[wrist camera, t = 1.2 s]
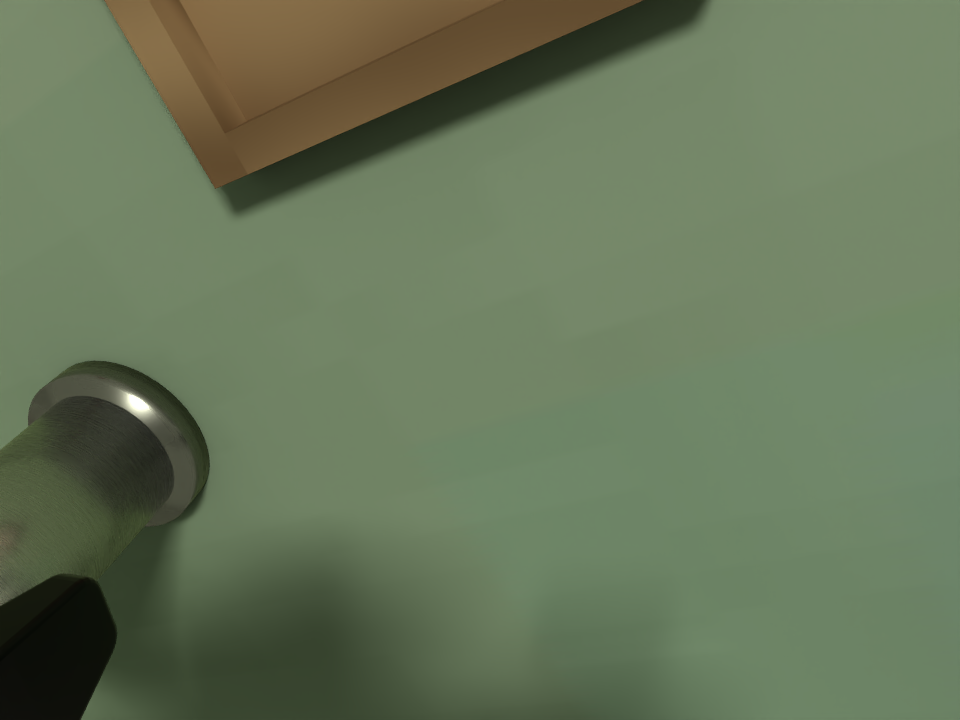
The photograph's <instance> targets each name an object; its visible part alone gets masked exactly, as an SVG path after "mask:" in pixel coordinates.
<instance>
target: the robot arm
mask: <svg viewBox="0 0 960 720" xmlns="http://www.w3.org/2000/svg"><path fill="white" fill-rule="evenodd" d="M116 639H117V628H116V624H115V622H114V619H113V617H112V614H111V612H110V609H109V607H108V604H107V602H106V599H105V597H104V594H103V592H102V589H101V587H100V585H99V583H98V582H97V581H96V580H95V579H93V578H91V577H87V576H81V575H75V574H69V573H62V574H57V575H54V576H52V577H50V578H48V579H46V580H45V581H43V582H41V583H39V584H38V585H36V586H34V587H32V588H31V589H29V590H27V591H25V592H24V593H22V594H20V595H18V596H16V597H15V598H13V599H11V600H9V601H8V602H6V603H4V604H2V605H1V606H0V720H81V718H82V716H83V714H84V712H85V709H86V707H87V705H88V703H89V701H90V699H91V697H92V695H93V693H94V691H95V688H96V686H97V684H98V682H99V680H100V678H101V676H102V674H103V672H104V670H105V667H106V665H107V663H108V661H109V659H110V657H111V655H112V653H113V650H114V648H115V644H116Z"/></svg>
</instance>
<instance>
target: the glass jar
mask: <svg viewBox="0 0 960 720" xmlns="http://www.w3.org/2000/svg"><path fill="white" fill-rule="evenodd" d="M208 474H209V455H208V449H207V446H206V443H205V440H204V437H203V435H202V433H201V431H200V429H199V427H198V425H197V424H196V422H195V420H194V419H193V417H192V416H191V414H190V413H189V412H188V410H187V409H186V408H185V407H184V406H183V405H182V404H181V402H180V401H179V400H178V399H177V398H176V397H175V396H174V395H172V394H171V393H170V392H169V391H168V390H167V389H165V388H164V387H163V386H162V385H160V384H159V383H157V382H156V381H154V380H153V379H151V378H150V377H148V376H146V375H144V374H142V373H140V372H139V371H136V370H134V369H132V368H129V367H127V366H123V365H120V364H116V363H112V362H106V361H87V362H82V363H78V364H75V365H73V366H71V367H69V368H67V369H66V370H65V371H63V372H62V373H61V374H59V375H58V376H57V377H56V378H54V379H53V380H52V381H51V382H49V383H48V384H47V385H46V386H44V387H43V388H42V389H40V391H39V392H38V393H37V394H36V395H35V397H34V398H33V400H32V402H31V405H30V408H29V414H28V427H27V428H26V429H25V430H24V431H22V432H21V433H20V434H19V435H18V436H16V437H15V438H14V439H13V440H12V441H10V442H9V443H8V444H7V445H5V446H4V447H3V448H2V449H1V450H0V606H1V605H2V604H4V603H6V602H8V601H9V600H11V599H13V598H15V597H16V596H18V595H20V594H22V593H24V592H25V591H27V590H29V589H31V588H32V587H34V586H36V585H38V584H39V583H41V582H43V581H45V580H46V579H48V578H50V577H52V576H54V575H57V574H62V573H69V574H75V575H81V576H87V577H91V578H93V579H95V580H96V581H97V580H98V579H99V578H100V577H101V576H102V575H103V573H104V572H105V571H106V570H107V569H108V568H109V567H110V565H111V564H112V563H113V562H114V561H115V560H116V559H117V557H118V556H119V555H120V554H121V553H122V552H123V551H124V549H125V548H126V547H127V546H128V545H129V544H130V542H131V541H132V540H133V539H134V538H135V537H136V536H137V534H138V533H139V532H140V531H141V530H142V529H143V528H144V526H158V525H162V524H165V523H168V522H170V521H172V520H174V519H176V518H177V517H178V516H180V515H181V514H182V512H183V511H184V510H185V509H186V508H187V506H188V505H189V504H190V503H191V502H192V501H193V499H194V498H195V497H196V496H197V495H198V493H199V492H200V491H201V490H202V489H203V487H204V485H205V483H206V481H207V477H208Z"/></svg>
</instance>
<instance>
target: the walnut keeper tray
mask: <svg viewBox="0 0 960 720" xmlns="http://www.w3.org/2000/svg"><path fill="white" fill-rule="evenodd" d="M104 1H105V2H106V4H107V6H108V7H109V9H110V11H111V12H112V14H113V16H114V18H115V19H116V21H117V23H118V24H119V26H120V28H121V29H122V31H123V33H124V35H125V36H126V38H127V40H128V41H129V43H130V45H131V46H132V48H133V50H134V51H135V53H136V55H137V57H138V58H139V60H140V62H141V63H142V65H143V67H144V68H145V70H146V72H147V74H148V75H149V77H150V79H151V80H152V82H153V84H154V85H155V87H156V89H157V91H158V92H159V94H160V96H161V97H162V99H163V101H164V102H165V104H166V106H167V107H168V109H169V111H170V113H171V114H172V116H173V118H174V119H175V121H176V123H177V124H178V126H179V128H180V130H181V131H182V133H183V135H184V136H185V138H186V140H187V141H188V143H189V145H190V147H191V148H192V150H193V152H194V153H195V155H196V157H197V158H198V160H199V162H200V164H201V165H202V167H203V169H204V170H205V172H206V174H207V175H208V177H209V179H210V180H211V182H212V184H213V186H214V187H215V189H216V188H218V187H221V186H223V185H225V184H227V183H230V182H232V181H234V180H237V179H239V178H241V177H243V176H246V175H248V174H250V173H252V172H255V171H257V170H259V169H262V168H264V167H266V166H268V165H271V164H273V163H275V162H277V161H280V160H282V159H284V158H286V157H289V156H291V155H293V154H296V153H298V152H300V151H302V150H305V149H307V148H309V147H311V146H314V145H316V144H318V143H321V142H323V141H325V140H327V139H330V138H332V137H334V136H336V135H339V134H341V133H343V132H346V131H348V130H350V129H352V128H355V127H357V126H359V125H361V124H364V123H366V122H368V121H371V120H373V119H375V118H377V117H380V116H382V115H384V114H386V113H389V112H391V111H393V110H396V109H398V108H400V107H402V106H405V105H407V104H409V103H411V102H414V101H416V100H418V99H421V98H423V97H425V96H427V95H430V94H432V93H434V92H436V91H439V90H441V89H443V88H445V87H448V86H450V85H452V84H455V83H457V82H459V81H461V80H464V79H466V78H468V77H470V76H473V75H475V74H477V73H480V72H482V71H484V70H486V69H489V68H491V67H493V66H495V65H498V64H500V63H502V62H505V61H507V60H509V59H511V58H514V57H516V56H518V55H520V54H523V53H525V52H527V51H530V50H532V49H534V48H536V47H539V46H541V45H543V44H545V43H548V42H550V41H552V40H555V39H557V38H559V37H561V36H564V35H566V34H568V33H570V32H573V31H575V30H577V29H580V28H582V27H584V26H586V25H589V24H591V23H593V22H595V21H598V20H600V19H602V18H604V17H607V16H609V15H611V14H614V13H616V12H618V11H620V10H623V9H625V8H627V7H629V6H632V5H634V4H636V3H639V2H641V1H643V0H104Z"/></svg>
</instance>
